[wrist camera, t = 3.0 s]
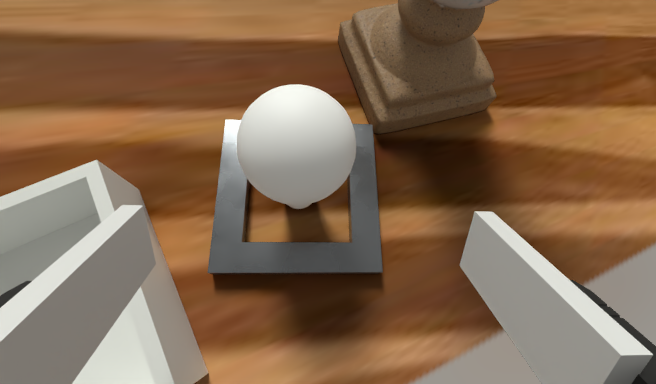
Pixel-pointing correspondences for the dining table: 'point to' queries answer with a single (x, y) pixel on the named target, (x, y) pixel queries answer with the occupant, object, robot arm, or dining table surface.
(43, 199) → the bin
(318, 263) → the dark grey square frame
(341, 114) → the lightbulb
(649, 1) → the dining table surface
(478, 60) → the candle holder
